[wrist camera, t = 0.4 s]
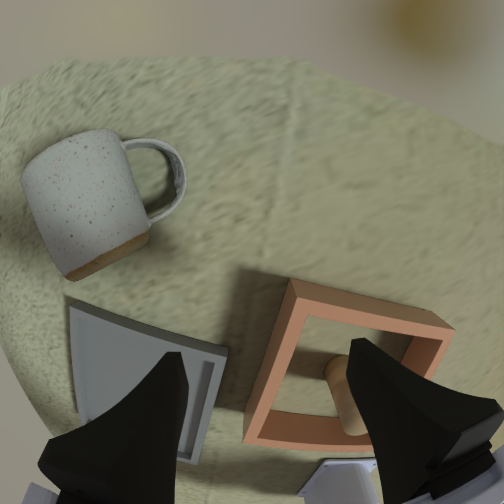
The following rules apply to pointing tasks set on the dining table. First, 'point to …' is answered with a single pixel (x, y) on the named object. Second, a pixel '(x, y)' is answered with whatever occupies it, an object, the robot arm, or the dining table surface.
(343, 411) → the maple pin
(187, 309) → the dining table surface
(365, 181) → the dining table surface
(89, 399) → the slate tray
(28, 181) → the ceramic mug
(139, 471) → the robot arm
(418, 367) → the terracotta planter box
